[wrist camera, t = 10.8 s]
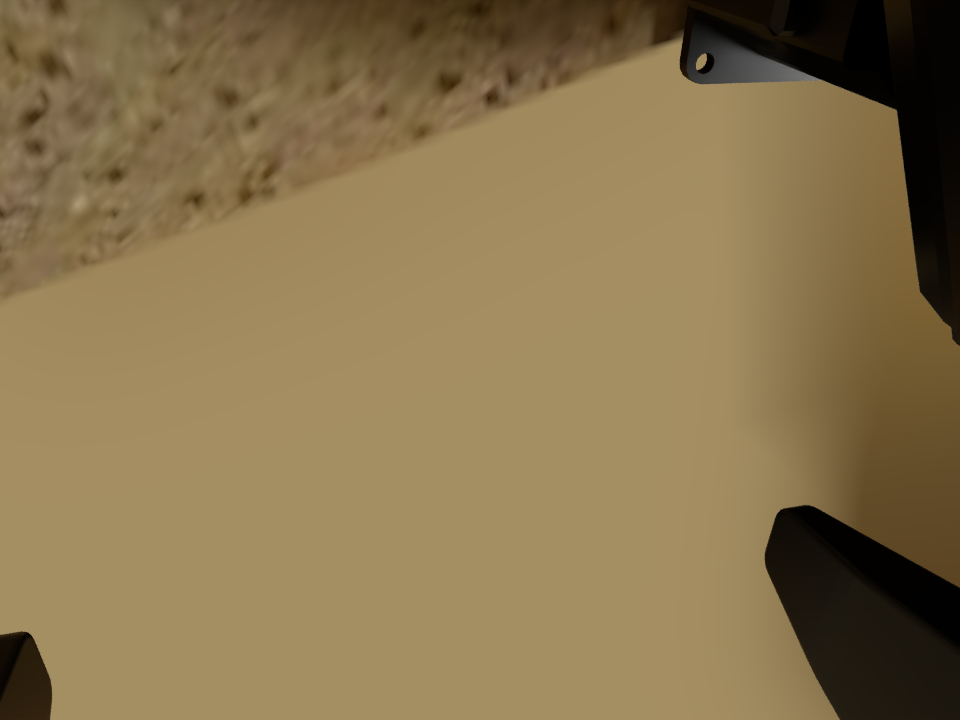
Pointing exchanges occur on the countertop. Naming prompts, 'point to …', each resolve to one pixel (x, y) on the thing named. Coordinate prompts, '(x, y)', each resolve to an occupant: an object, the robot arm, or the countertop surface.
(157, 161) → the countertop surface
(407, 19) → the countertop surface
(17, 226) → the countertop surface
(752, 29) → the robot arm
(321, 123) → the countertop surface
